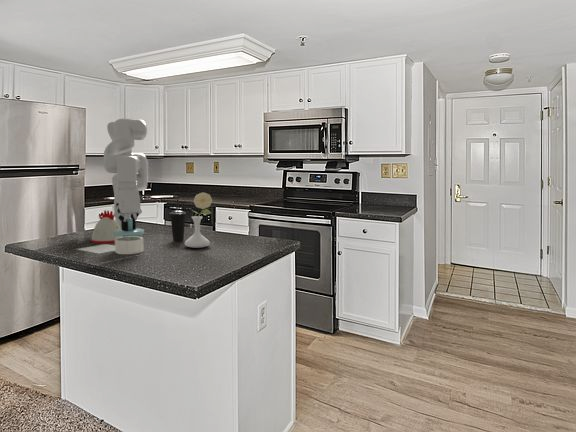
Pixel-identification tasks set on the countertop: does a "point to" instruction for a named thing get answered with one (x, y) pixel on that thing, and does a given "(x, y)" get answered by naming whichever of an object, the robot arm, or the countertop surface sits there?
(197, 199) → the flower in vase
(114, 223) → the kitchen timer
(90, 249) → the mat
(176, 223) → the drinking cup
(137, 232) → the lid
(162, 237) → the countertop surface
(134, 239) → the bowl
